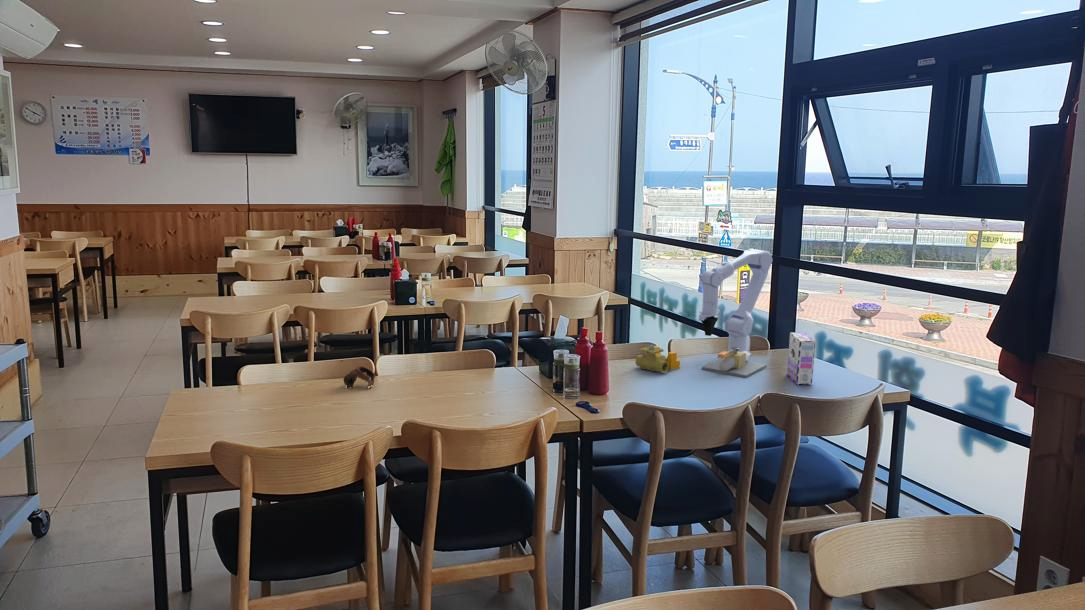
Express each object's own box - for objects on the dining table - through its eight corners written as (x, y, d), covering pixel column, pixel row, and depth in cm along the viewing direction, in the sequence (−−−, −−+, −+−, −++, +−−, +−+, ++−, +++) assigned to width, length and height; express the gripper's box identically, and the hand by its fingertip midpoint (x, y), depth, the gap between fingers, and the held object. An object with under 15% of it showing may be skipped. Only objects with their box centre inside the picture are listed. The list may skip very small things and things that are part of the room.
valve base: (723, 359, 328) (724, 342, 326) (766, 367, 317) (767, 349, 315) (701, 369, 313) (702, 351, 311) (746, 378, 302) (747, 359, 301)
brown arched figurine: (353, 383, 291) (364, 364, 289) (371, 398, 287) (383, 379, 286) (332, 383, 280) (343, 363, 278) (350, 399, 276) (362, 379, 275)
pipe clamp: (679, 368, 314) (680, 352, 313) (670, 370, 312) (671, 353, 310) (659, 361, 324) (659, 345, 323) (650, 362, 322) (651, 346, 320)
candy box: (812, 385, 294) (816, 341, 291) (796, 385, 294) (799, 340, 291) (802, 374, 307) (805, 332, 304) (786, 374, 308) (789, 331, 304)
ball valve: (632, 369, 312) (633, 343, 310) (649, 364, 319) (650, 339, 317) (659, 376, 303) (660, 350, 301) (676, 371, 310) (677, 345, 308)
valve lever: (733, 349, 315) (733, 346, 315) (740, 351, 314) (740, 347, 313) (717, 357, 304) (717, 353, 304) (723, 358, 303) (723, 354, 302)
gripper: (709, 297, 328) (707, 330, 331) (692, 302, 317) (690, 337, 319) (725, 299, 324) (723, 333, 327) (709, 305, 313) (707, 339, 315)
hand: (708, 335), depth 323 cm, fingers closed
